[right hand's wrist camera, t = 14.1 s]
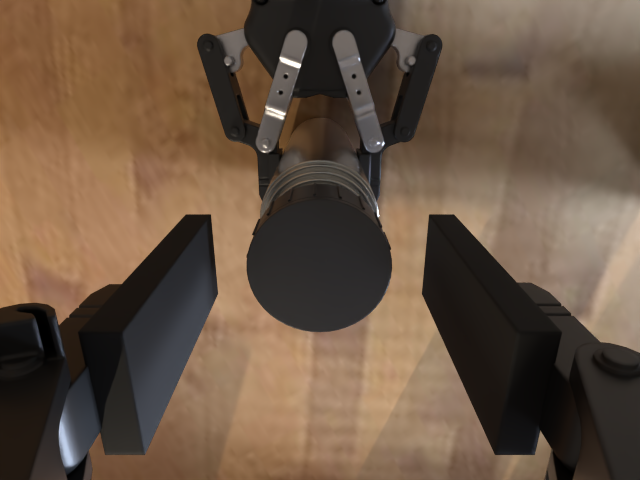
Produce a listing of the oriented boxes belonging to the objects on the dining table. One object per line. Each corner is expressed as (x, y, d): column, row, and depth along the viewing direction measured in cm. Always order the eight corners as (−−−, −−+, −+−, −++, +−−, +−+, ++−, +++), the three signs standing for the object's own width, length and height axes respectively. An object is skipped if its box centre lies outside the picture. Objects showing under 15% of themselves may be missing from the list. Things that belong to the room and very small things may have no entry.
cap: (257, 175, 14) (248, 189, 13) (395, 190, 15) (406, 207, 13) (249, 297, 16) (240, 326, 14) (374, 309, 16) (381, 339, 14)
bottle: (291, 113, 34) (245, 180, 13) (354, 121, 34) (410, 198, 13) (285, 176, 35) (237, 324, 15) (346, 183, 35) (383, 338, 15)
